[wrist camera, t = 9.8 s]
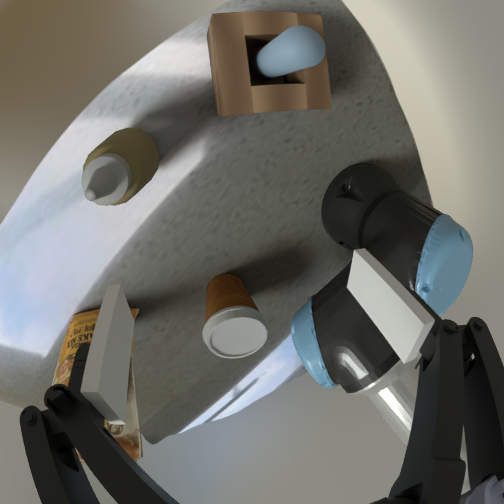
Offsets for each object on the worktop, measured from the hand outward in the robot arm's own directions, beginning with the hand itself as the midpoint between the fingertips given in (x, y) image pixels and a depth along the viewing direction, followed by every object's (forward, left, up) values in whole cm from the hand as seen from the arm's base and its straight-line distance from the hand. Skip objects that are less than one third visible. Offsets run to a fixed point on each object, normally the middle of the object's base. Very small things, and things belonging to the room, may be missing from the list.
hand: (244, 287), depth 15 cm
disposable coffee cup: (+1, +20, -27) cm, 33 cm away
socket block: (-8, -14, -26) cm, 31 cm away
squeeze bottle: (+10, -5, -27) cm, 29 cm away
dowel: (-9, -14, -24) cm, 29 cm away
